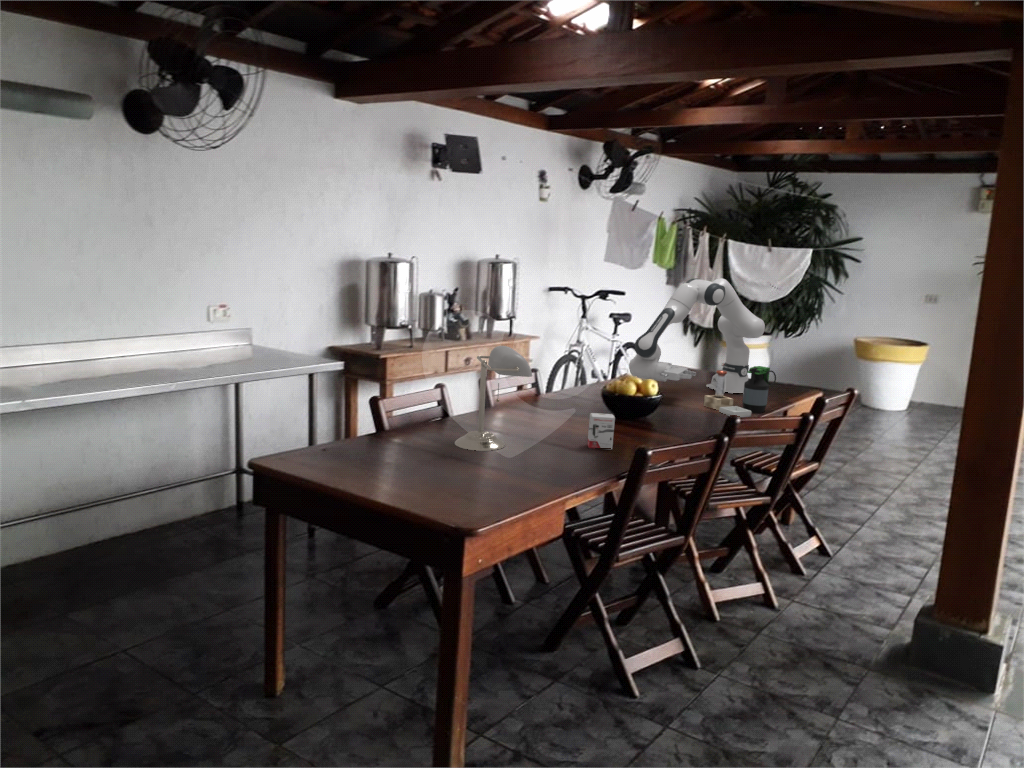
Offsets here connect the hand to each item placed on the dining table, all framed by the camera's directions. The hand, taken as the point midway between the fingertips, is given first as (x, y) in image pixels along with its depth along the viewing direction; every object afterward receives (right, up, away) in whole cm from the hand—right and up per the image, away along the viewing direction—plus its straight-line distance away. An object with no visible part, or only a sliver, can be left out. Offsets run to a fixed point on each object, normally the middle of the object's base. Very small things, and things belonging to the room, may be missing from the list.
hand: (693, 375), depth 365 cm
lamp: (-91, -25, -84) cm, 126 cm away
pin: (+11, -15, -2) cm, 18 cm away
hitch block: (+11, -15, -2) cm, 18 cm away
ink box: (-52, -27, -80) cm, 99 cm away
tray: (+15, -17, -14) cm, 27 cm away
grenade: (+27, -16, -3) cm, 32 cm away
